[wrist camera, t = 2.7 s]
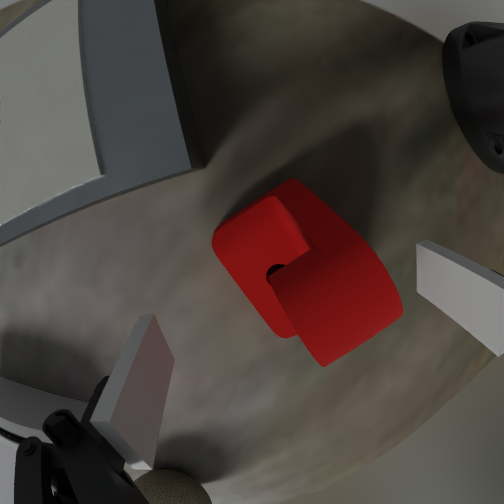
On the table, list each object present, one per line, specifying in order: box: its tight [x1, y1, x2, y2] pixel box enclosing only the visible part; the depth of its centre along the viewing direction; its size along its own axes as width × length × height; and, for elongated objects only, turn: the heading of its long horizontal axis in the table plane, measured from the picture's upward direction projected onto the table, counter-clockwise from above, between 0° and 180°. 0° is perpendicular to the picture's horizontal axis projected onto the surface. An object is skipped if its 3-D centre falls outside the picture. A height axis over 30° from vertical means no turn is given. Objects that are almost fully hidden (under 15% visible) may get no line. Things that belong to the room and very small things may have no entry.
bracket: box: [212, 178, 403, 367], centre depth 15 cm, size 9×6×10 cm
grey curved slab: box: [0, 376, 88, 450], centre depth 19 cm, size 17×5×10 cm, turn 88°
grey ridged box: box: [0, 0, 205, 247], centre depth 11 cm, size 19×14×8 cm
